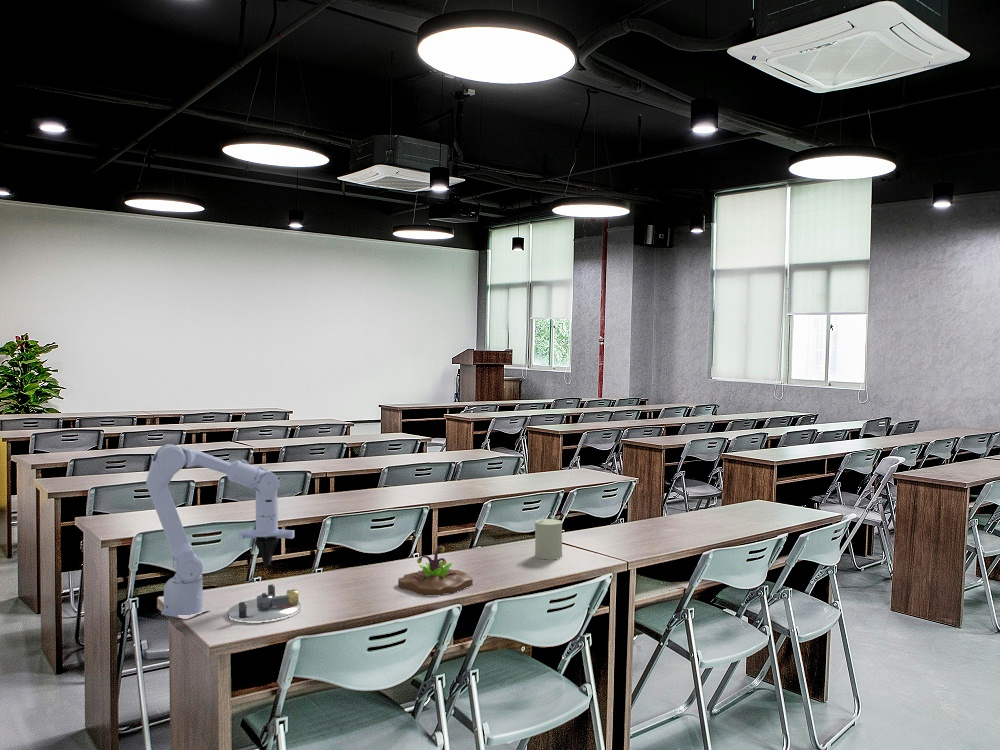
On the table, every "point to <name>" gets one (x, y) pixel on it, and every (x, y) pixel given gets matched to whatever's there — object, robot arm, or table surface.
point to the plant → (435, 578)
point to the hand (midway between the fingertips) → (267, 564)
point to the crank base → (252, 613)
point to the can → (548, 539)
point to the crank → (277, 600)
